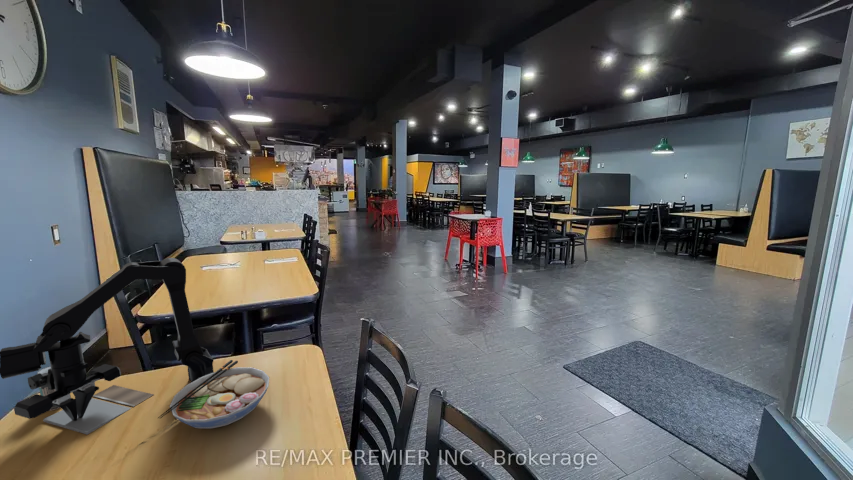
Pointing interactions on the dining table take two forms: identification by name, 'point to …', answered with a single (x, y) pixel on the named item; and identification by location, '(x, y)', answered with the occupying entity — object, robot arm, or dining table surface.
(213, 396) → the ramen bowl
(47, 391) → the grey can
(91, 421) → the grey tile
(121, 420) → the dining table surface
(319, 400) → the dining table surface
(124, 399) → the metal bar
